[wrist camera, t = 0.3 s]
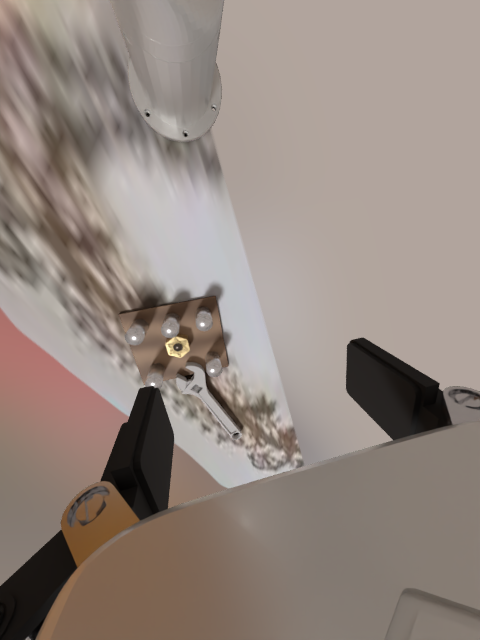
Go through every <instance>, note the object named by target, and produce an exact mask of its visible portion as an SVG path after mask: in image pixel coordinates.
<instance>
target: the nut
mask: <svg viewBox="0 0 480 640" xmlns="http://www.w3.org/2000/svg"><path fill="white" fill-rule="evenodd" d="M165 345H166V348H167V351H168V355H171V356H175V357H179V358H181V357H183V356H184V355H185V354H186V353H187V352H189V351H190V343H189V339H188V335H185V334H181V333H178V335H177V336H176V337H174V338H168V339H167V340H166V344H165Z"/></svg>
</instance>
